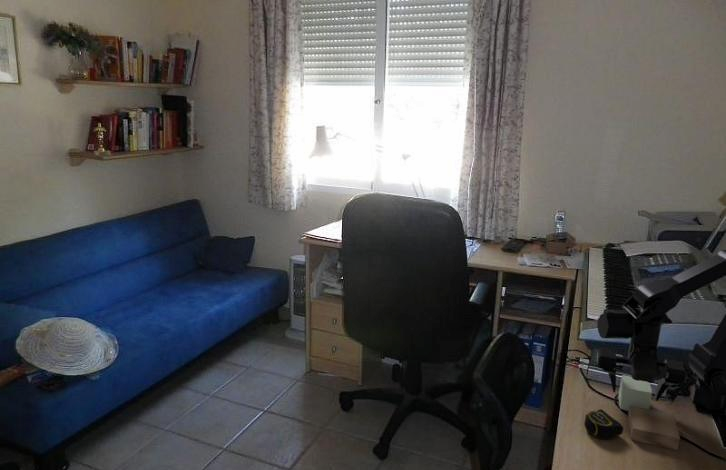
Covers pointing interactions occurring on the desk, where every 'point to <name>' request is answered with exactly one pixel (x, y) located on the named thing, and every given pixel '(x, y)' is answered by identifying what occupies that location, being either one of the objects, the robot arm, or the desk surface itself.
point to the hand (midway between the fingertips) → (634, 395)
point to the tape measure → (602, 425)
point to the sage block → (634, 393)
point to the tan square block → (653, 427)
